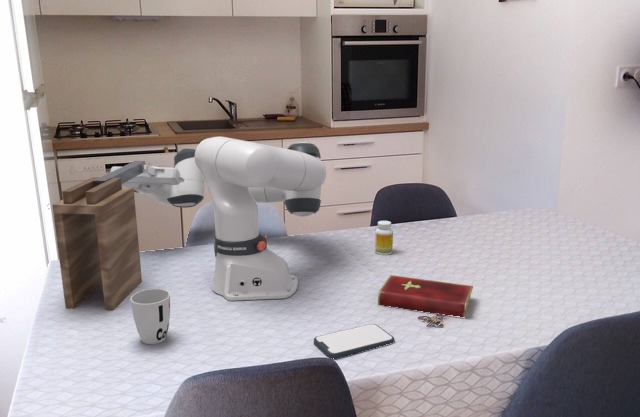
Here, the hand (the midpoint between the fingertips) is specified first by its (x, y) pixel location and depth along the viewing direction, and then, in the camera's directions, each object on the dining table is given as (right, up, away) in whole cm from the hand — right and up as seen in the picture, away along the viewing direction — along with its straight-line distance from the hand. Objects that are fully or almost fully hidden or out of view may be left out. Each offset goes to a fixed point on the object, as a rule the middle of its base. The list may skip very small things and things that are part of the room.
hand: (135, 167), depth 169 cm
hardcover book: (+79, -36, -22) cm, 89 cm away
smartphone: (+60, -41, -42) cm, 84 cm away
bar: (-1, -4, -9) cm, 10 cm away
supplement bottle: (+72, -25, +13) cm, 77 cm away
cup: (+16, -40, -40) cm, 59 cm away
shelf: (-2, -34, -17) cm, 38 cm away
